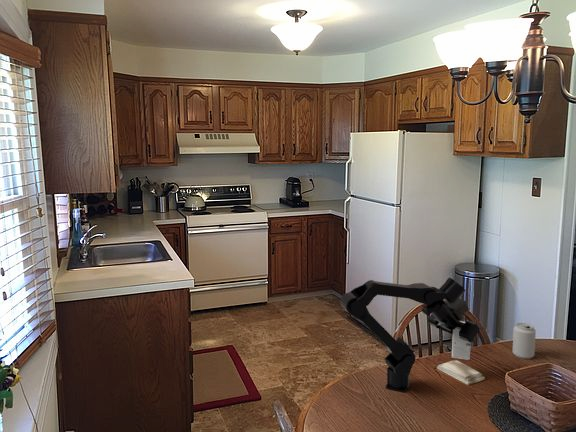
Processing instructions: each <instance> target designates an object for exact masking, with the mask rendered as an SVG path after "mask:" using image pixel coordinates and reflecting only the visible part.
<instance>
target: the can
mask: <svg viewBox="0 0 576 432" xmlns="http://www.w3.org/2000/svg"><path fill="white" fill-rule="evenodd" d="M536 333H537V331H536V329H535V326H534V325H533V324H530V323H527V322H517V323H516V324H515V326H514V327H513V335H512V353H513V355H514V356H515V357H517V358H519V359H525V360H530V359H532V358H533V357H535V354H536V353H535V352H536Z"/></svg>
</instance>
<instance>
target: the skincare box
mask: <svg viewBox="0 0 576 432" xmlns="http://www.w3.org/2000/svg"><path fill="white" fill-rule="evenodd" d="M459 321H460V322H462V323H465V322H466V321H463V320H459ZM460 330H461V329H458V328H455V330H453V334H452V338H451V340H452V342H451V359H452V358H453V359H458V360H460V359H461V360H467V361H470V359H471V348H472V347H471V345H472V342H468V341H465V340H463V339H461V338H459V337H460V336H459V331H460Z"/></svg>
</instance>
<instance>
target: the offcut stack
mask: <svg viewBox="0 0 576 432" xmlns="http://www.w3.org/2000/svg"><path fill="white" fill-rule="evenodd" d="M436 368H437V370H439V371H441V372H443V373H445V374H446V375H448V376H450V377H451V378H454V379H456V380H457V381H460V382H461V383H463V384H464V385H466V386H469V385H473V384H475V383H479V382H481V381H485V380H486V379H485V378H486V377H485V376H484V375H483V374H482V373H481V372H479V371H478V370H476V369H473V367H470V366H468V365H466V364H464V363H462V362H461V361H459V360H457V359H455V360H450V361H447V362H444V363H442V364H438V365H437V367H436Z"/></svg>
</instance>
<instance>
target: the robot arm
mask: <svg viewBox="0 0 576 432" xmlns="http://www.w3.org/2000/svg"><path fill="white" fill-rule="evenodd" d="M465 292H466V289H465V287H463V286H462V285H461V284H459V283H458V282H457V281H456V280H455V279H453V278H452V277H448V278H447V279H446V280H445V282H444V283H443V284H442V285H441V286H440V287H439V288H437V287H436V286H430V285H428V284H426V283H423V282H416V283H412V284H399V283H392V282H386V281H385V282H384V281H377V280H372V279H369V280H367V281H365V282H364V283H363V284H361V285H359V286H357V287H355V288H352V290H351V291H349V292H346V293H344V294H342V296H341V297H340V302H339V303H340V304H339V305H340V306H341V307H342V308H343V309H344V310H345V311H346V312H347V313H348V314H349V315H350V316H351V317H353V318H355V319H356V320H358V321H360V322H361V323H363V324H364V325H365V326H366V328H367V329H369V331H371V332H372V333H373V334H374V335H375V337H377V338H378V339H379V341H380V342H382V343H383V344H384V345H385V347H386V348H387V350H388V352H389V354H388V355H386V357H385V358H384V362H385V364H386V365H387V366H388V367H387V369H386V380H387V381H386V385H385V389H387V390H388V389H389V390H393V391H396V392H403V393H405V392H406V391H407V389H408V388H410V381H411V379H410V377H411V375H410V373H411V371H412V369H413V365H414V364H415V362H416V354H415V350H414V349H413V348H412V347H411V346H410V345H408V343H407V342H405V340H403V338H401V337H399V336H398V337H397V339H396V338H395V337H393V336H392V335H391V334H390V333H389V332H388V330H386V328H385V327H383V326H382V324H381V323H380V322H379V321H378V320H377V319H376V318H375V317H374V316H372V314H371V312H370V311H369V309H368V308H367V307H368V306H369V305H370V304H371V303H372V301H373V300H374V298H375V297H376V296H383V297H384V296H385V297H391V298H392V297H393V298H400V299H402V298H403V299H409V300H412V301H414V302H417V303H419V304H423V306H422V308H421V312H422V314H424V315H426V316H427V317H428V318H427V321H428V322H427V323H429V325H430V326H432V327H435V328H436V329H438V330H440V331H444V332H446V333H448V334H451V335H453V330H455V328H458V329H461V330H460V331H459V336H460V337H459V338H461V339H463V340H465V341H468V342H471V344H472V343H474V341H475V338H476V336H477V334H478V332H480V329H481V327H480V325H479V324H478V323H476V322H473V321H471V320H466V321H464V322H465V323H462V322H460V321H462V319H463V315H464V314H465V313H466V312H468V311H470V308H469V305H468V302H467V300H463V299H461V297H462V295H463V294H465Z"/></svg>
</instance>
